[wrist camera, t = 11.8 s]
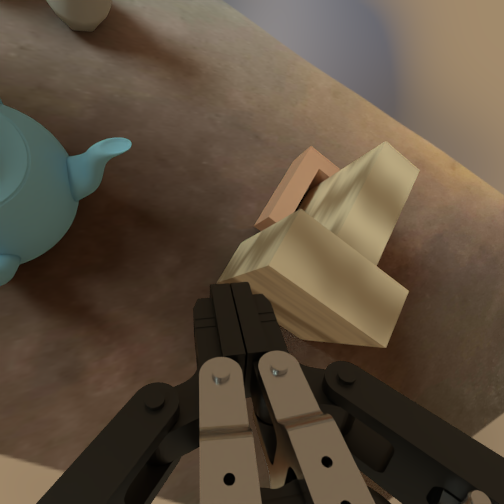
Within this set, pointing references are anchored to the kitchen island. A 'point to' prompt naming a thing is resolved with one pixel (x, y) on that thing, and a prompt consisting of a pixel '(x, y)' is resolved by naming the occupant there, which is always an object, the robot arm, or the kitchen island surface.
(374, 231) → the t block
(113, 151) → the teapot
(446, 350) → the kitchen island surface
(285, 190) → the frame
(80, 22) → the salt shaker
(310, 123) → the kitchen island surface
